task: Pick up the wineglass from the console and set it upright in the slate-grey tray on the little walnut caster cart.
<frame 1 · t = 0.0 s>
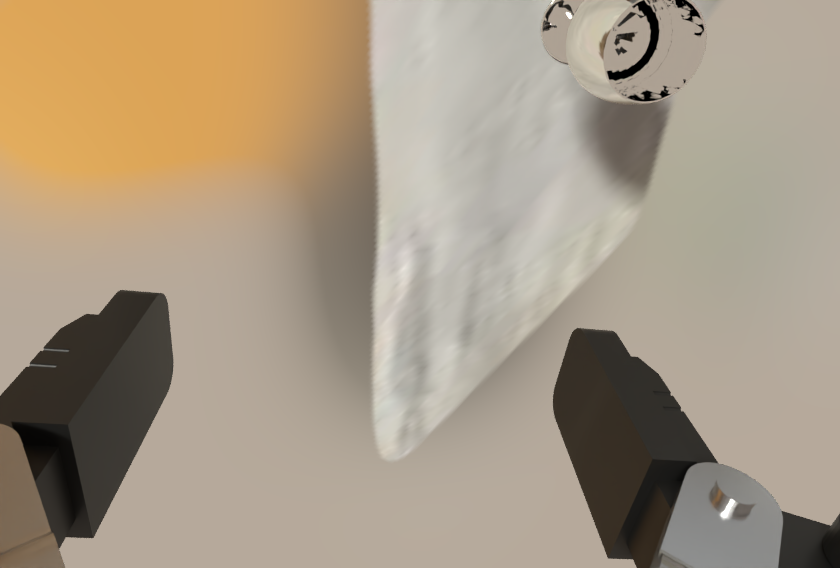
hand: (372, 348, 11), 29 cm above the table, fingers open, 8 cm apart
wineglass: (574, 25, 36), on the table
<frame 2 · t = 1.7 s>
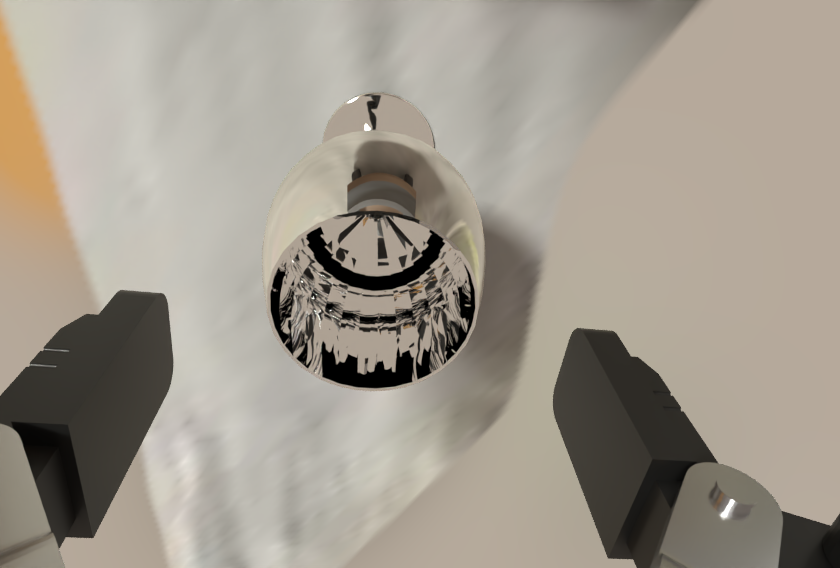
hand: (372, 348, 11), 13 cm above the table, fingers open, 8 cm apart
wineglass: (378, 148, 23), on the table
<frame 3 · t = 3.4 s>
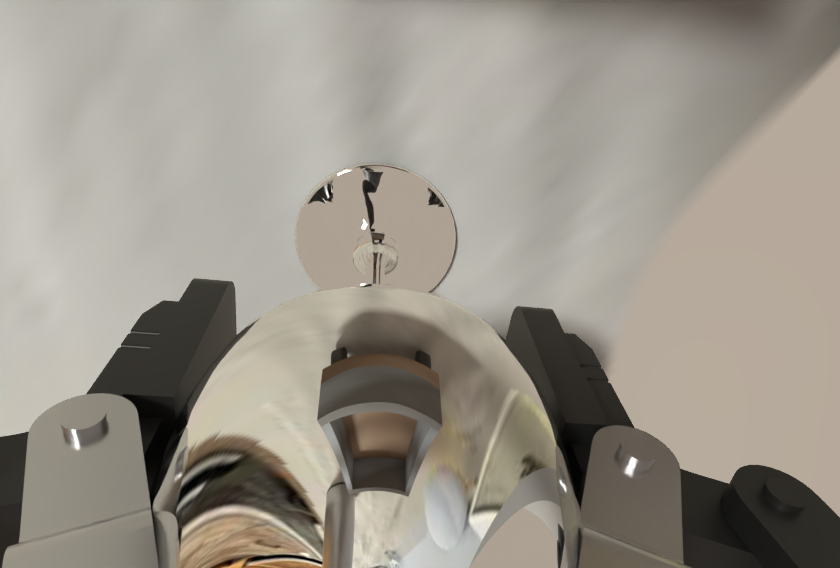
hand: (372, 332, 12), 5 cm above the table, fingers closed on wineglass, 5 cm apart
wineglass: (376, 237, 16), on the table, touching gripper
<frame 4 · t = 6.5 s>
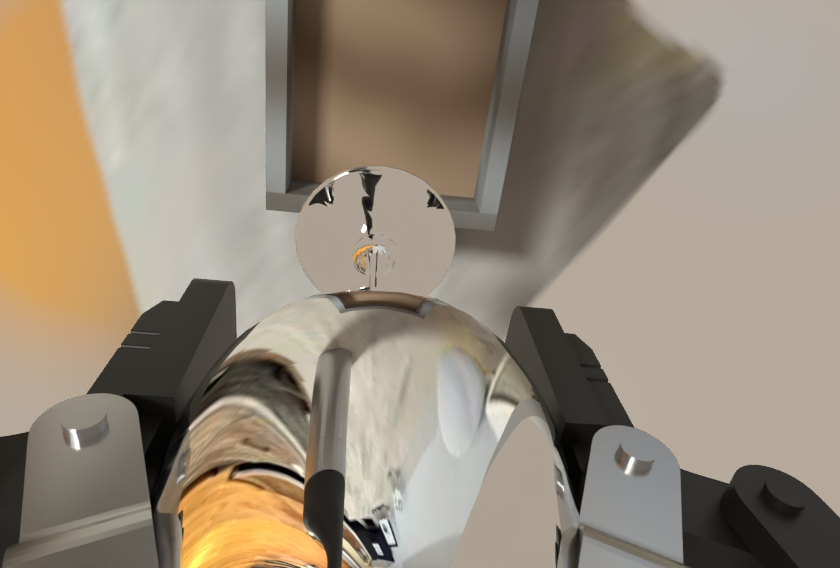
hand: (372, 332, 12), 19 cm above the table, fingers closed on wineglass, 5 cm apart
cart: (395, 61, 27), on the table
wineglass: (376, 239, 16), point 14 cm above the table, touching gripper
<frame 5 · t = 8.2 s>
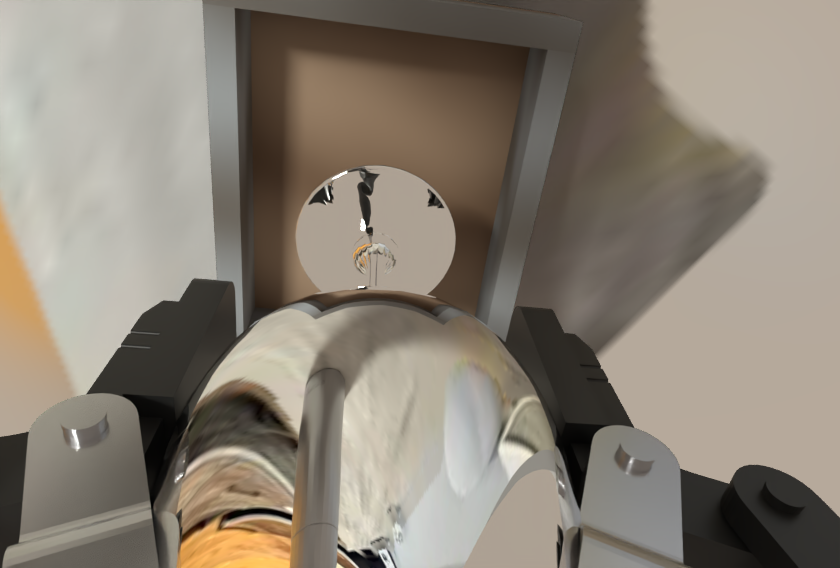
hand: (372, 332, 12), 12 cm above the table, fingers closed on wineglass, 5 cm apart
cart: (379, 158, 22), on the table
wineglass: (376, 239, 16), point 7 cm above the table, touching gripper
when the fingers open (9 cm above the table, at t = 9.6 s): wineglass drops 1 cm, resting on cart.
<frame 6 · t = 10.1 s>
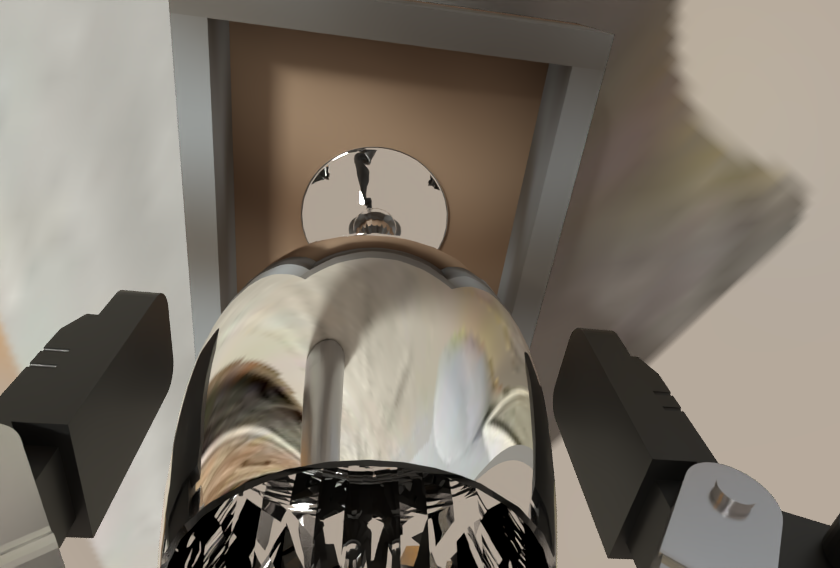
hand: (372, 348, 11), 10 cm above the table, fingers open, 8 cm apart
cart: (377, 182, 20), on the table
wineglass: (375, 215, 17), point 3 cm above the table, touching cart
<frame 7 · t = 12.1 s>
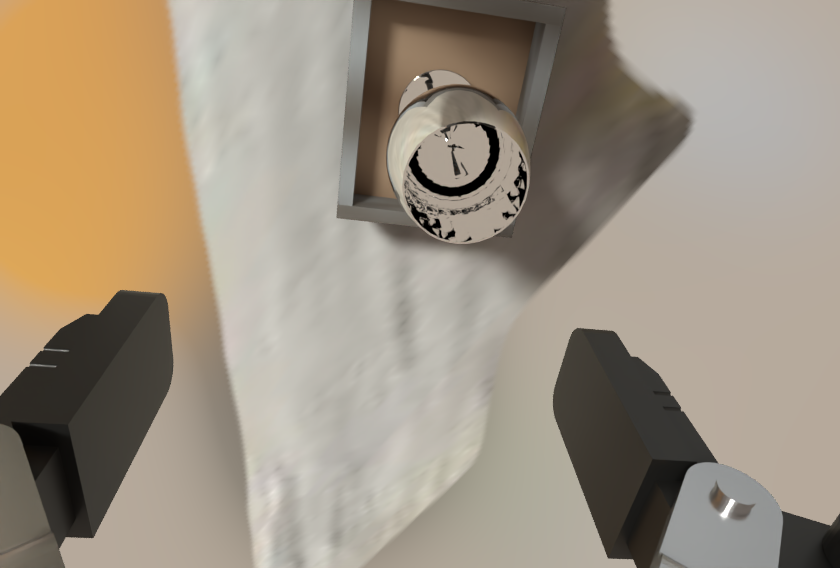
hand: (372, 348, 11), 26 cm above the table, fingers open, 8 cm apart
cart: (434, 100, 34), on the table
wineglass: (438, 111, 31), point 3 cm above the table, touching cart
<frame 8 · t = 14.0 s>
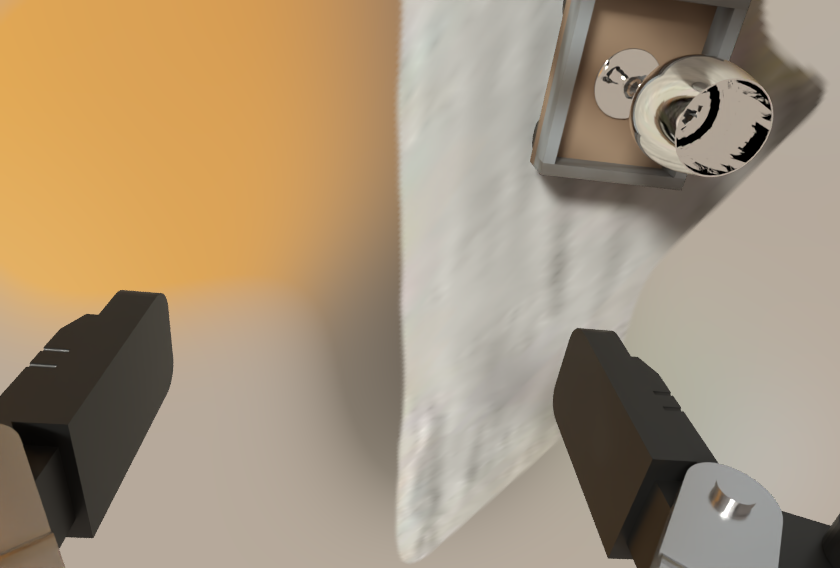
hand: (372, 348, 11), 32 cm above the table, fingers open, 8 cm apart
cart: (609, 76, 40), on the table
wineglass: (626, 83, 37), point 3 cm above the table, touching cart
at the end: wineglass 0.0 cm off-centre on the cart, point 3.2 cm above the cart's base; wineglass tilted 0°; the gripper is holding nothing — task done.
